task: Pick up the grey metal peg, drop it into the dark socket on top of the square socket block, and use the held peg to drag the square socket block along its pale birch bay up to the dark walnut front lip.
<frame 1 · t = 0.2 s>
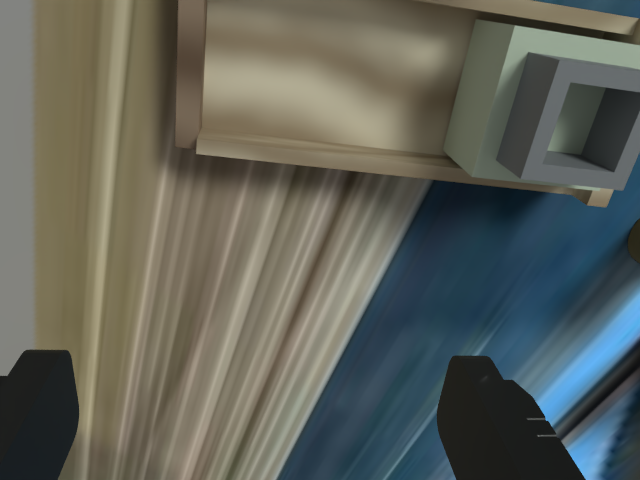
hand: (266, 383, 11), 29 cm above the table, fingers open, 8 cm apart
square socket block: (550, 110, 32), point 6 cm above the table, slide at 0.0 cm
bay: (399, 77, 37), on the table
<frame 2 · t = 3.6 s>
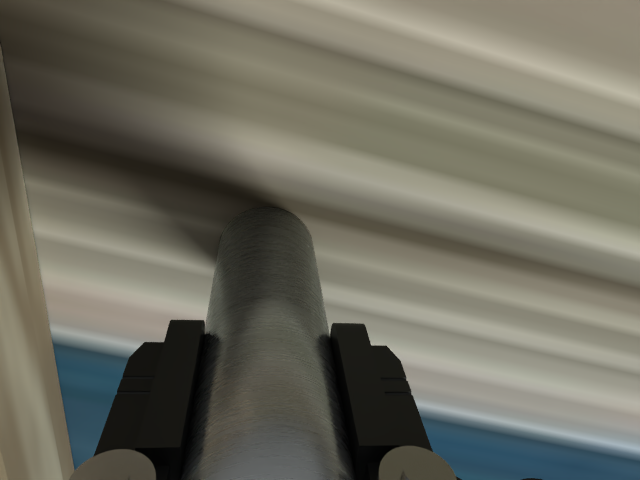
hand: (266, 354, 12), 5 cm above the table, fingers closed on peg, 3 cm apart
peg: (266, 250, 16), on the table, touching gripper
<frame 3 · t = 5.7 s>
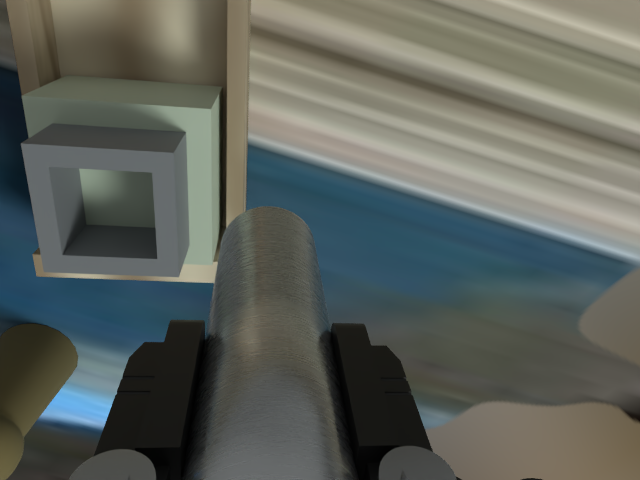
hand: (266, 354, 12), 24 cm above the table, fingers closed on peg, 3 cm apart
square socket block: (131, 180, 28), point 6 cm above the table, slide at 0.0 cm
cork: (39, 352, 41), on the table
peg: (268, 249, 16), point 19 cm above the table, touching gripper
bay: (146, 6, 30), on the table
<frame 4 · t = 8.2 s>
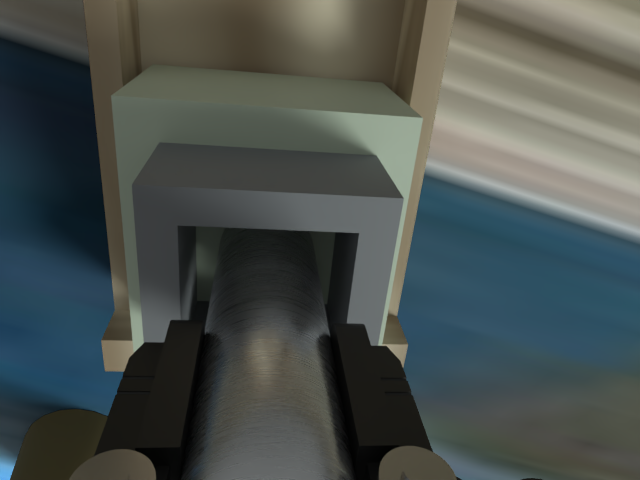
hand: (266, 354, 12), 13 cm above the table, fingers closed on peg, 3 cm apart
square socket block: (266, 228, 18), point 6 cm above the table, slide at 0.0 cm
cork: (81, 444, 30), on the table
peg: (266, 250, 16), point 8 cm above the table, touching gripper
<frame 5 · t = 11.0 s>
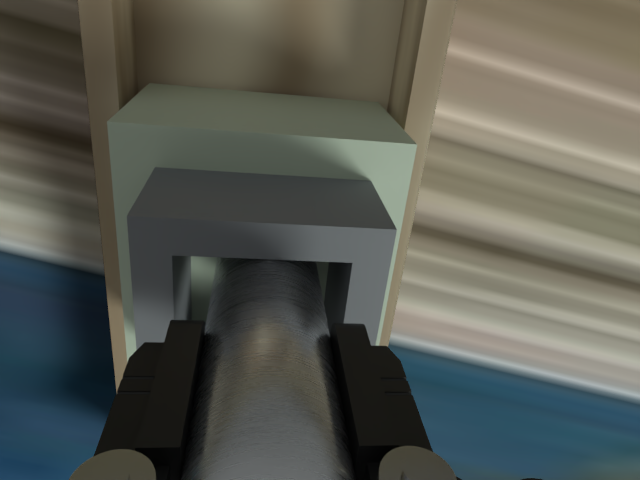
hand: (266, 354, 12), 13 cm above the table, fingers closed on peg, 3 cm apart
square socket block: (260, 249, 18), point 6 cm above the table, slide at 9.1 cm, touching peg
peg: (266, 250, 16), point 8 cm above the table, touching square socket block, gripper
bay: (260, 199, 24), on the table
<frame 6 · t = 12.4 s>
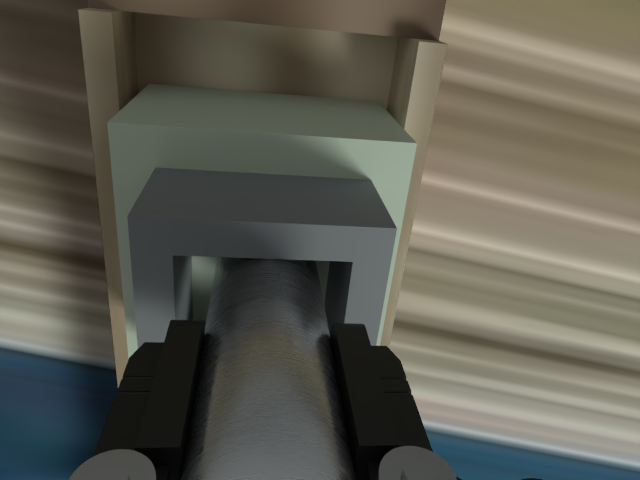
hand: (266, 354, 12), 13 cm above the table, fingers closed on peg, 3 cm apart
square socket block: (261, 249, 18), point 6 cm above the table, slide at 14.9 cm, touching peg
peg: (266, 250, 16), point 8 cm above the table, touching square socket block, gripper
bay: (256, 304, 26), on the table
when the fingers open (13 cm above the table, at t = 12.8 s): peg stays where it is, resting on square socket block.
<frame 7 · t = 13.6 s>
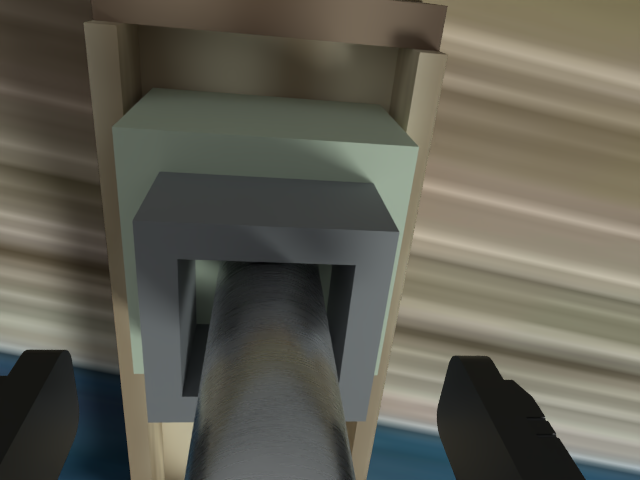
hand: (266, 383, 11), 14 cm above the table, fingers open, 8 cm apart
square socket block: (264, 252, 18), point 6 cm above the table, slide at 15.1 cm, touching peg
peg: (268, 251, 17), point 7 cm above the table, touching square socket block
bay: (259, 309, 26), on the table
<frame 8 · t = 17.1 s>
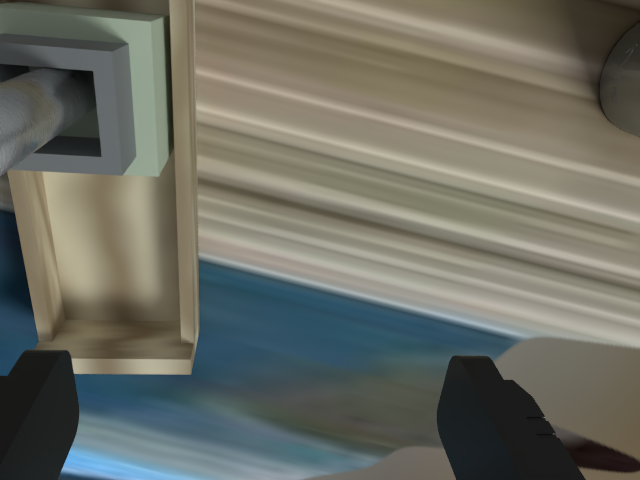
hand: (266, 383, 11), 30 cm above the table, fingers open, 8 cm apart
square socket block: (81, 94, 31), point 6 cm above the table, slide at 15.1 cm, touching peg
peg: (74, 86, 29), point 7 cm above the table, touching square socket block
bay: (116, 167, 39), on the table
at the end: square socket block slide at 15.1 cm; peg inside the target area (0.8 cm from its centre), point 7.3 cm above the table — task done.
